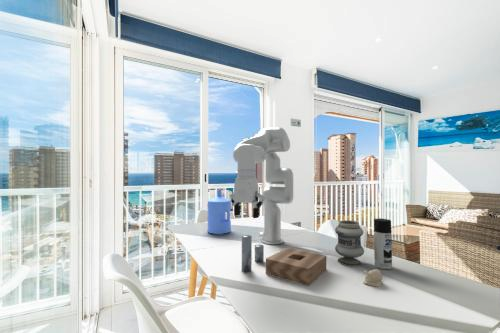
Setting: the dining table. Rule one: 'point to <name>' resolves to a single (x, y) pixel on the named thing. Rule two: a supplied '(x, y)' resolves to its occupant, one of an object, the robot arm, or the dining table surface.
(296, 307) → the dining table surface
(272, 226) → the robot arm
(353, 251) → the apothecary jar
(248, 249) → the tall pin
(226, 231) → the water jug
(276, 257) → the hole block
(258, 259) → the short pin
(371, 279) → the decorative ornament
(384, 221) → the spray can
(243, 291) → the dining table surface
